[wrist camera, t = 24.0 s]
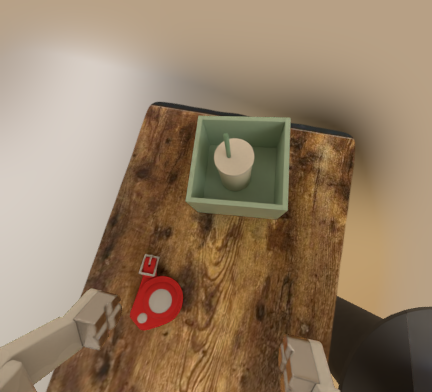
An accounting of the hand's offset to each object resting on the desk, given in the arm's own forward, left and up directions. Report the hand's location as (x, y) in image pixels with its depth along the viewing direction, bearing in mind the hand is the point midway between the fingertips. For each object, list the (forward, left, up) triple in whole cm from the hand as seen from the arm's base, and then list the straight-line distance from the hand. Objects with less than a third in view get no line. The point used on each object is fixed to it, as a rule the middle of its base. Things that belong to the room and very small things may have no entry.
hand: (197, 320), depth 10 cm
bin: (0, -18, -29) cm, 34 cm away
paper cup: (+1, -17, -28) cm, 33 cm away
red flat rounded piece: (+13, +5, -29) cm, 32 cm away
